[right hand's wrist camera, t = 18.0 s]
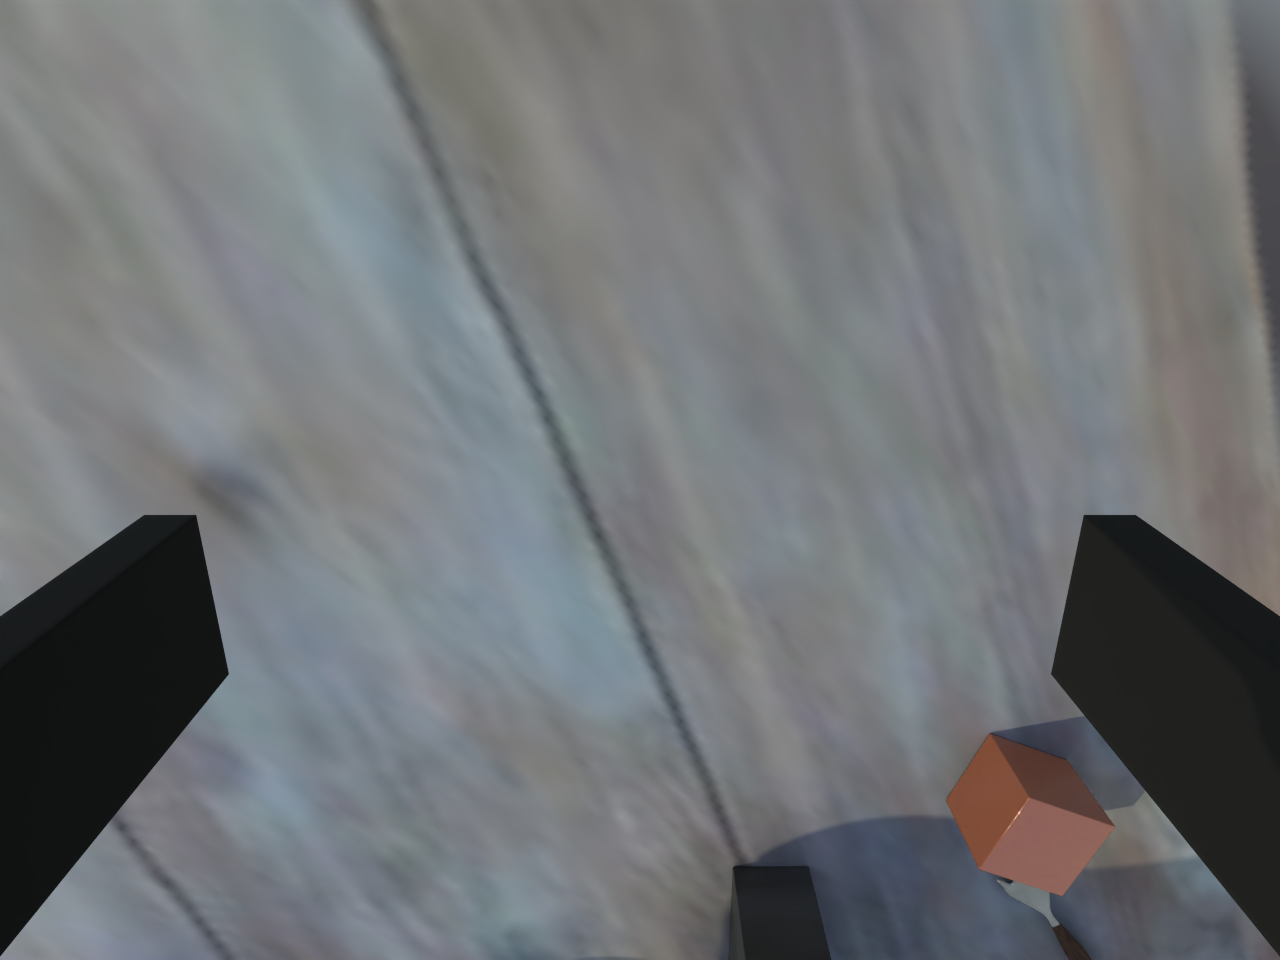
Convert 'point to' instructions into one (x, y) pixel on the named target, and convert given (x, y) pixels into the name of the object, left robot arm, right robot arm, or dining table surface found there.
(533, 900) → the dining table surface
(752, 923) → the bar
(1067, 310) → the dining table surface
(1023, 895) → the fork
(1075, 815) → the terracotta block
